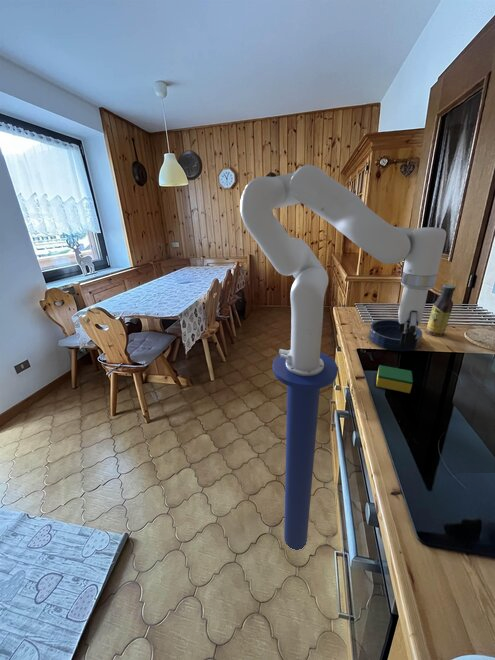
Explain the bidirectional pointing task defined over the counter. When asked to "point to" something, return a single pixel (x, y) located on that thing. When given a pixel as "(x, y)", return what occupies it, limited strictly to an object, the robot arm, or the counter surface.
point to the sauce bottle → (441, 311)
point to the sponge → (394, 379)
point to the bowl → (390, 335)
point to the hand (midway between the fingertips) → (405, 338)
